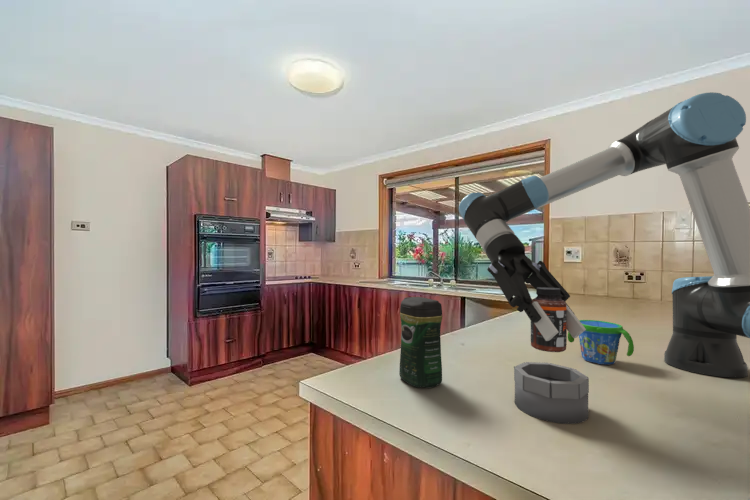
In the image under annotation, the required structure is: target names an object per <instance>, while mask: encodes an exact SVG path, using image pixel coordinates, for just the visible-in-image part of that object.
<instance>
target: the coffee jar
mask: <svg viewBox="0 0 750 500" xmlns="http://www.w3.org/2000/svg"><path fill="white" fill-rule="evenodd" d="M399 316H400V317H399V318H400V327H401V329H400V331H401V333H400V334H401V335H400V336H401V337H400V358H399V371H398V372H399V377H400V379H402V380H403V381H404V382H405V383H407V384H409V385H411V386H412V387H416V388H427V389H431V388H435V387H437V386H439V385H440V384H442V382H443V365H442V363H443V361H442V351H441V350H442V344H441V329H442V328H441V327H442V322H443V316H444V315H443V308H442V303H441V302H440V301H439V300H435V299H432V298H426V297H422V296H413V297H412V296H410V297H404V298H403V299H402V301H401V302H400V307H399Z"/></svg>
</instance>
